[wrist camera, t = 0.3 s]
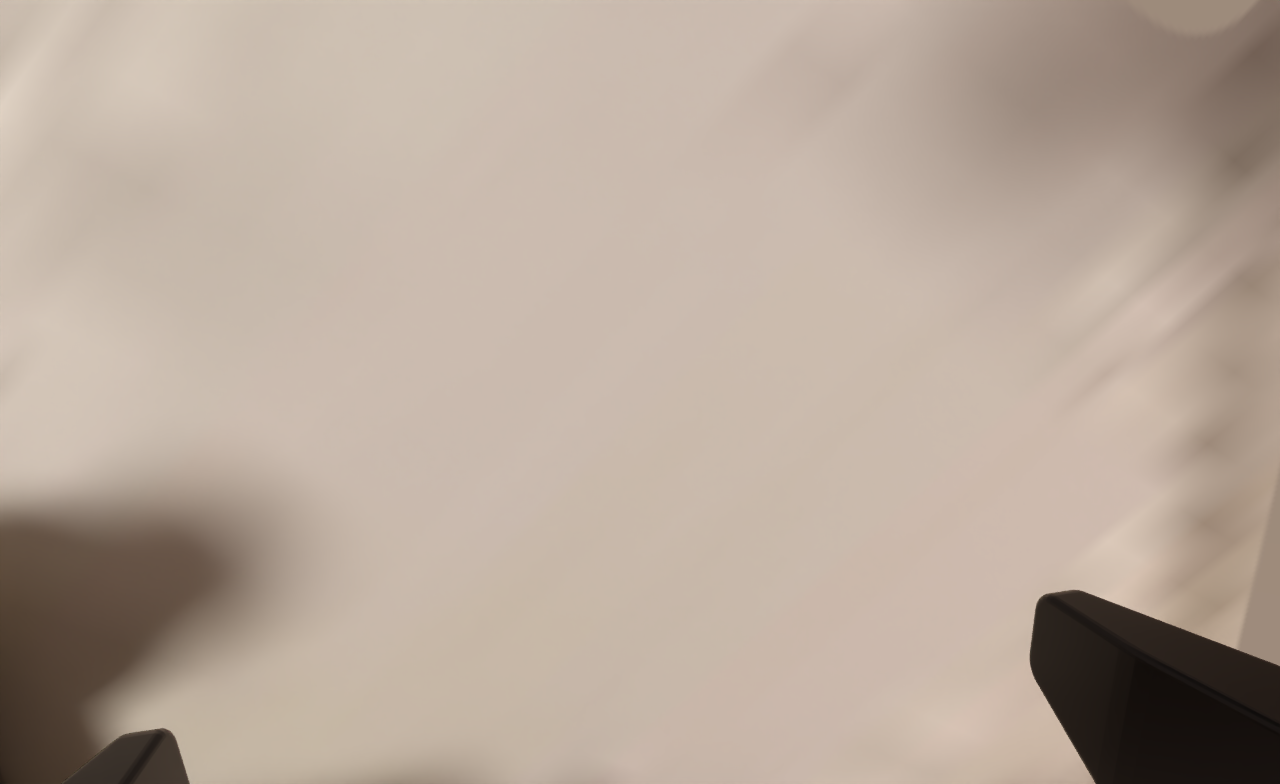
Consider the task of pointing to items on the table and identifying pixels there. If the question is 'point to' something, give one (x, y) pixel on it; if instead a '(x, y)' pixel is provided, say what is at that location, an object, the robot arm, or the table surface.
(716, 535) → the table surface
